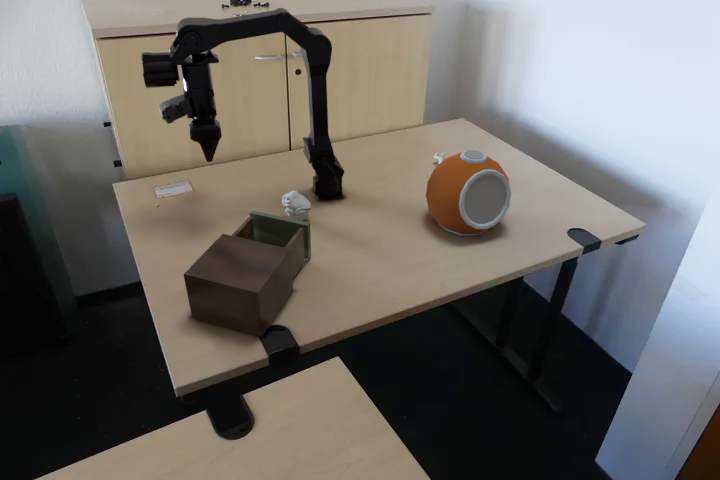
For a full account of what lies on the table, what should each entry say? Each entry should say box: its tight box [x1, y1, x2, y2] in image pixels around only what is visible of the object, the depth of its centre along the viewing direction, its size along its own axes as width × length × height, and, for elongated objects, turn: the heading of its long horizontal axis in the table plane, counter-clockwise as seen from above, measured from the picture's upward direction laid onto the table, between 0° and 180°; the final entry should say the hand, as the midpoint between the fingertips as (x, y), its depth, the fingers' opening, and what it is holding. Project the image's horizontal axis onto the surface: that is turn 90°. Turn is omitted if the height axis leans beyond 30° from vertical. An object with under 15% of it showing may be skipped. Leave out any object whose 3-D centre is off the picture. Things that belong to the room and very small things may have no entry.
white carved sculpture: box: [281, 190, 312, 221], centre depth 125 cm, size 6×7×7 cm
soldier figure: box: [432, 151, 445, 165], centre depth 147 cm, size 8×5×12 cm
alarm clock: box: [425, 149, 512, 236], centre depth 124 cm, size 19×18×17 cm
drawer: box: [231, 209, 312, 280], centre depth 110 cm, size 17×13×9 cm
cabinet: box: [183, 233, 294, 338], centre depth 99 cm, size 13×14×10 cm
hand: (208, 152), depth 121 cm, fingers open, 9 cm apart
